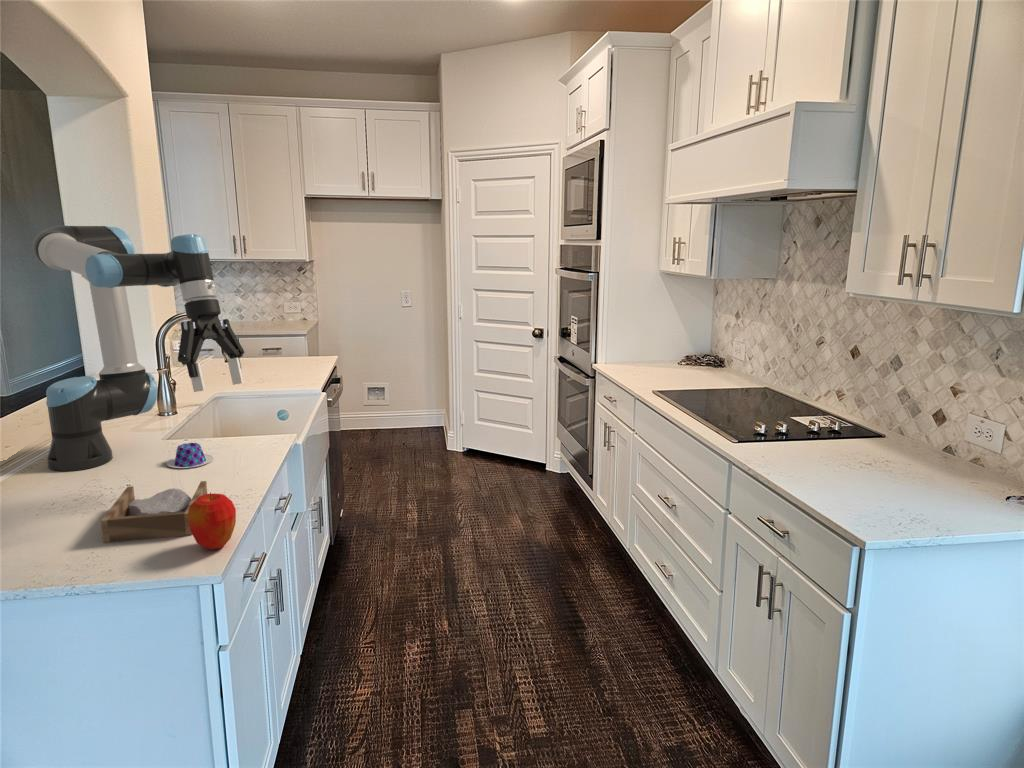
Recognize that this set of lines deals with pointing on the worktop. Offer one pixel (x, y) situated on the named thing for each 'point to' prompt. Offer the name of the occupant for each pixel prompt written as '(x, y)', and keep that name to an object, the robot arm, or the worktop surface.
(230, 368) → the robot arm
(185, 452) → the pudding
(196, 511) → the apple
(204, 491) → the cubby
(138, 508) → the stone block
